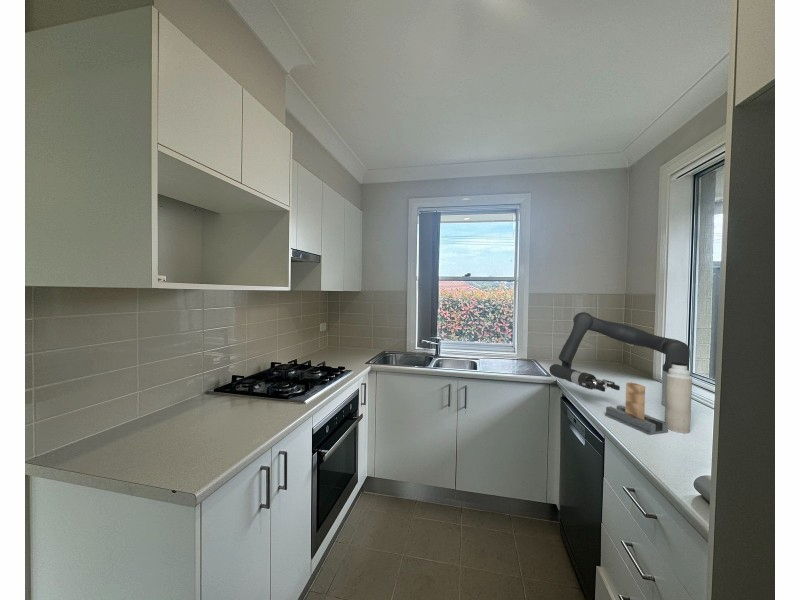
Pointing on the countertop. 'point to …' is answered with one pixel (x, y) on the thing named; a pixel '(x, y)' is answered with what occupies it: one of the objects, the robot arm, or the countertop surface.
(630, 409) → the door slat
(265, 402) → the countertop surface
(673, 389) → the thermos bottle
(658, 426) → the rail
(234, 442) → the countertop surface
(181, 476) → the countertop surface
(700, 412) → the countertop surface
